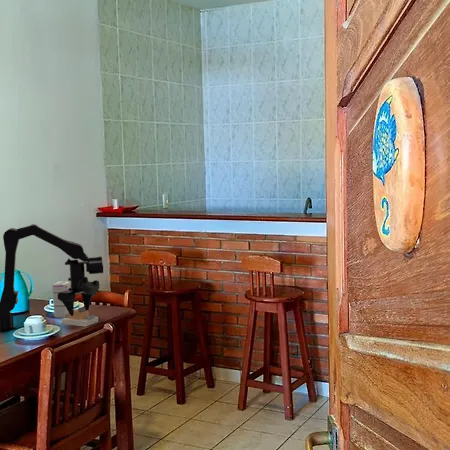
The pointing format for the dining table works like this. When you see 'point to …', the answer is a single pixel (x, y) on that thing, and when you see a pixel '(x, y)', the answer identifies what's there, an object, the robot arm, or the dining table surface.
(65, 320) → the stand
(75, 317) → the housing
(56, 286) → the syrup box
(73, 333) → the dining table surface
